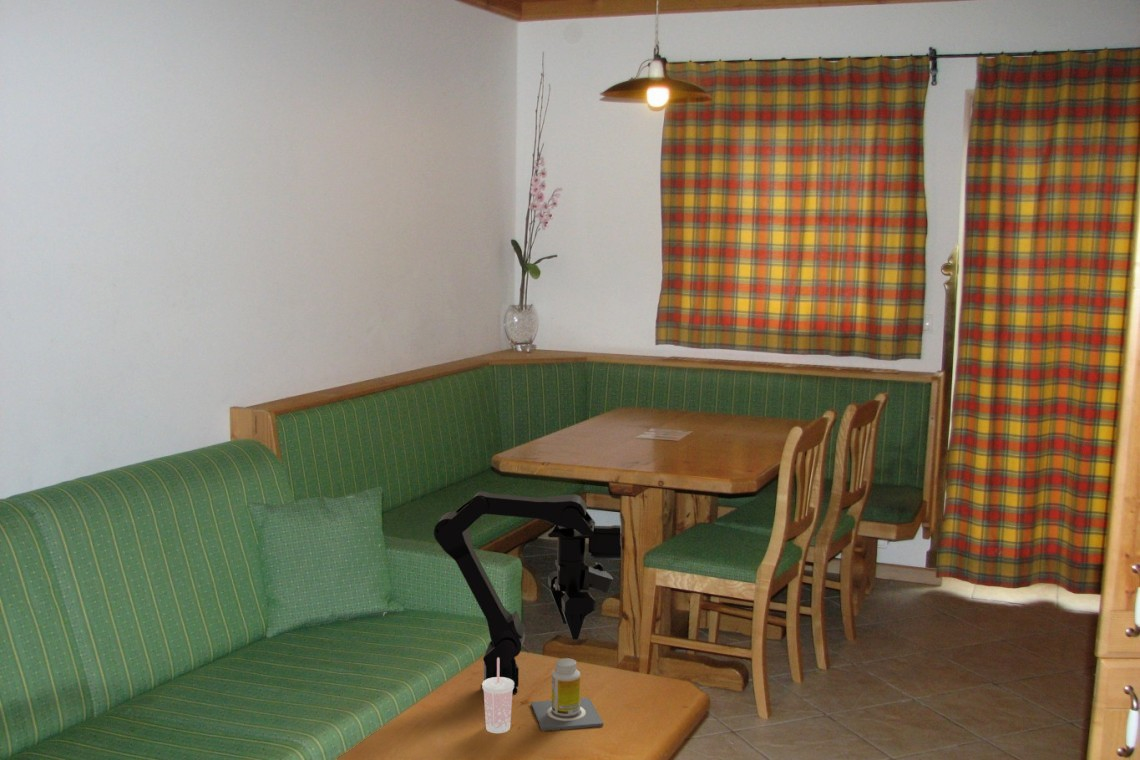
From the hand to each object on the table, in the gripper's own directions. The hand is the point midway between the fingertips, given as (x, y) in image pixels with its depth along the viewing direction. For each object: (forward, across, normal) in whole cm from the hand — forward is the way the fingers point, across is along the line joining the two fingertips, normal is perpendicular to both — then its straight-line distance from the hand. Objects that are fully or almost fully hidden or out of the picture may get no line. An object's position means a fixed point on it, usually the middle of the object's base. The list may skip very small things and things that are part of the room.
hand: (570, 631), depth 226 cm
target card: (+13, -11, +3) cm, 17 cm away
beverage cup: (+13, -14, +17) cm, 26 cm away
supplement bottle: (+12, -11, +3) cm, 17 cm away
